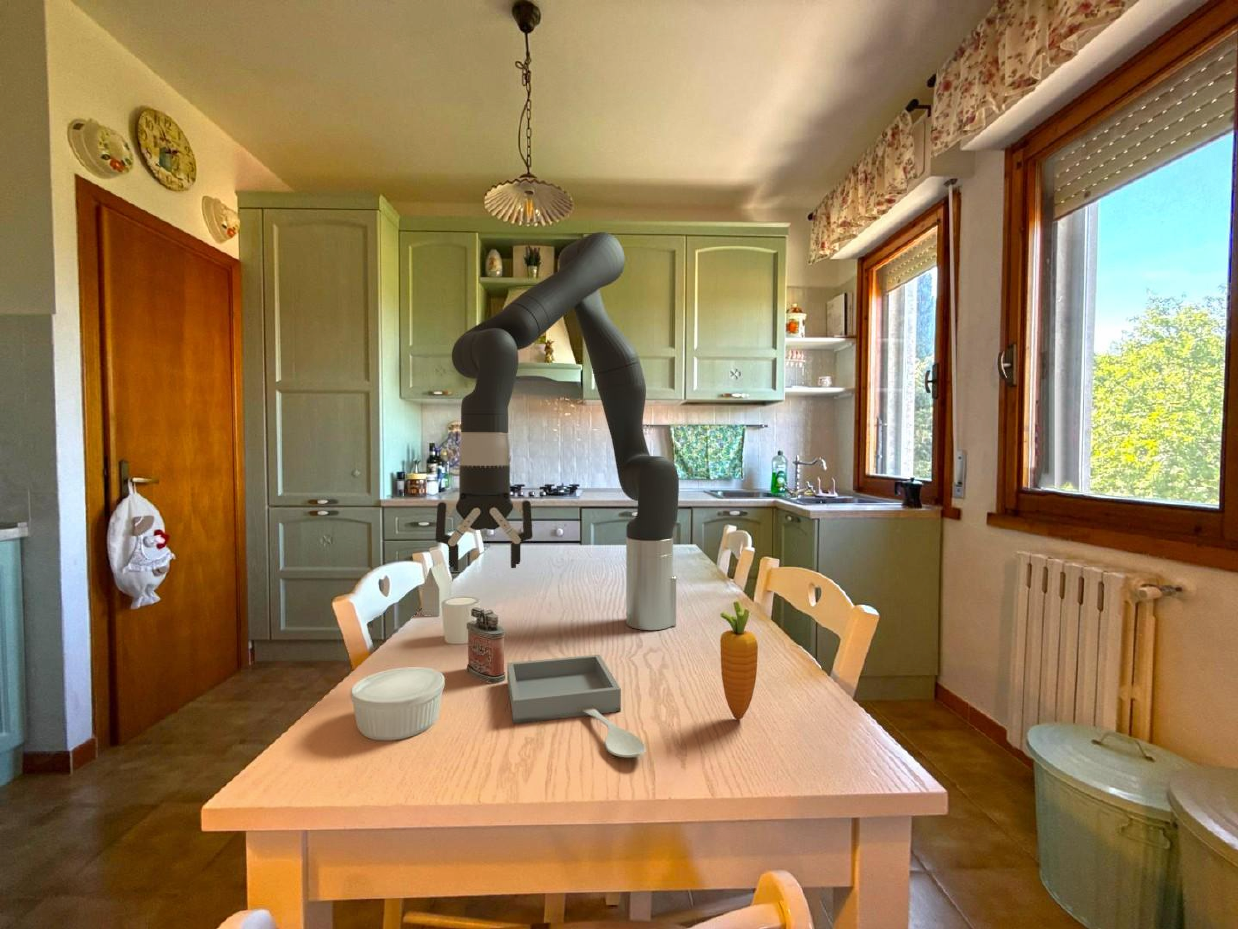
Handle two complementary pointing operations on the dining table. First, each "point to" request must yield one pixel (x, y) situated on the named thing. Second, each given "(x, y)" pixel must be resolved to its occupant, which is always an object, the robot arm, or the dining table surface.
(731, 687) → the carrot
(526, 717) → the tray
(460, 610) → the cream cup
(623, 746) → the spoon
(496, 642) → the lighter
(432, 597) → the white milk carton
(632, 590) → the robot arm
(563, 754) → the dining table surface
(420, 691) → the ramekin
